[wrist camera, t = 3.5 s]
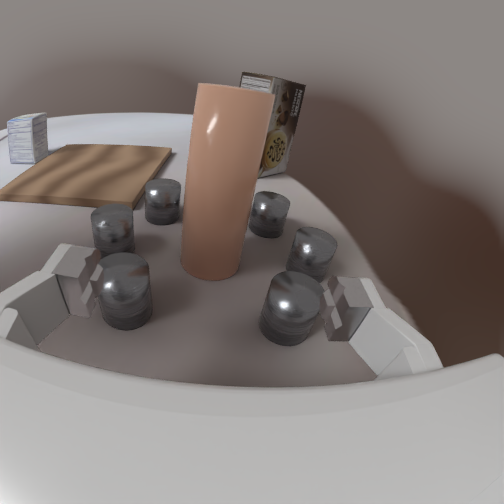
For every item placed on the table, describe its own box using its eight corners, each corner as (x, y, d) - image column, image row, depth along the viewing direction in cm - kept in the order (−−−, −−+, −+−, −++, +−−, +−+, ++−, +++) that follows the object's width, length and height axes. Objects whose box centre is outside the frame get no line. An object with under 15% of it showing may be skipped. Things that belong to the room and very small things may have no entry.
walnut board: (-4, 200, 24) (-5, 193, 24) (67, 149, 42) (67, 144, 41) (132, 210, 28) (132, 202, 27) (171, 153, 45) (171, 147, 45)
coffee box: (258, 160, 50) (276, 78, 41) (286, 172, 47) (308, 84, 38) (223, 166, 44) (240, 70, 34) (252, 180, 41) (275, 75, 32)
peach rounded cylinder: (176, 276, 21) (193, 84, 13) (184, 240, 25) (202, 82, 17) (240, 283, 22) (281, 97, 14) (238, 247, 26) (270, 92, 18)
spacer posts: (59, 316, 15) (44, 279, 13) (130, 196, 30) (130, 168, 28) (349, 345, 18) (372, 313, 16) (300, 217, 33) (308, 191, 31)
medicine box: (49, 156, 38) (47, 112, 33) (34, 164, 35) (32, 117, 30) (24, 156, 38) (21, 115, 33) (9, 164, 34) (6, 120, 29)
